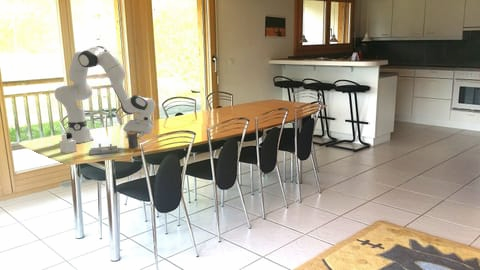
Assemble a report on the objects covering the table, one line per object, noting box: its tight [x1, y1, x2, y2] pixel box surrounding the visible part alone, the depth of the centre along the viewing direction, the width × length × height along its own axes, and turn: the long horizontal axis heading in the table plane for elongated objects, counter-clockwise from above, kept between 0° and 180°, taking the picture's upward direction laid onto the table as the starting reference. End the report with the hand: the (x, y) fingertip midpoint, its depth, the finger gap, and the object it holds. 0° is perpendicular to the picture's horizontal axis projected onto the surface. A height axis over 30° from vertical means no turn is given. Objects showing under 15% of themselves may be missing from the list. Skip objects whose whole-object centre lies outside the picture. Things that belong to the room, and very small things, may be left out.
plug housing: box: [127, 132, 139, 149], centre depth 271 cm, size 4×4×10 cm
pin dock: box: [89, 143, 119, 156], centre depth 265 cm, size 16×16×4 cm
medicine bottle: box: [58, 132, 78, 155], centre depth 265 cm, size 7×7×12 cm
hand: (132, 138), depth 271 cm, fingers open, 8 cm apart
